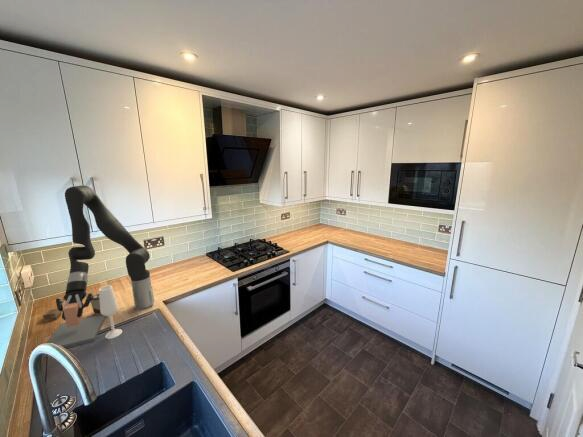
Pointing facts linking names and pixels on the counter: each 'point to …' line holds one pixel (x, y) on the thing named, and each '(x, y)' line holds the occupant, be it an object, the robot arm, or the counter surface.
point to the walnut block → (52, 315)
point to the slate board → (78, 332)
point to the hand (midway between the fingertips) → (71, 317)
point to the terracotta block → (72, 314)
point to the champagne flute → (109, 308)
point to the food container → (96, 304)
